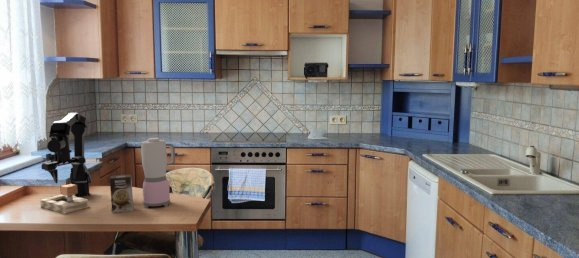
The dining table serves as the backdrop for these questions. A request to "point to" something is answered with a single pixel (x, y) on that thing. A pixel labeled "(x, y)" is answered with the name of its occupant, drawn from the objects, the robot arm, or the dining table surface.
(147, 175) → the blender
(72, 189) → the wooden block metal peg
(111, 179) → the coffee box
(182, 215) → the dining table surface
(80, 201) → the keyhole box
